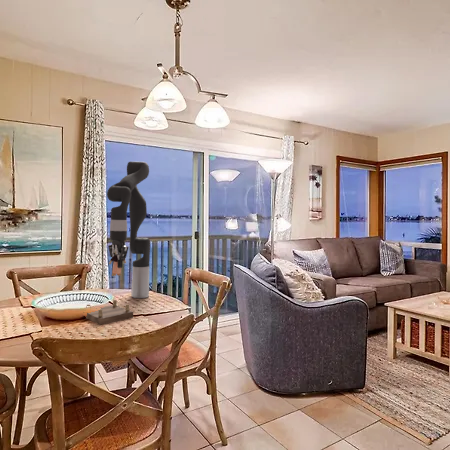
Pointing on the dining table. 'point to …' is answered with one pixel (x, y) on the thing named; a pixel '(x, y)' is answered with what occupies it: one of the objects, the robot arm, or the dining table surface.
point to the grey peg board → (110, 314)
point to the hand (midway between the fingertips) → (117, 267)
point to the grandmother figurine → (115, 268)
